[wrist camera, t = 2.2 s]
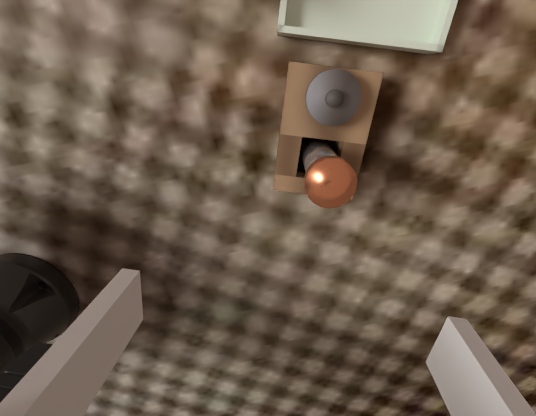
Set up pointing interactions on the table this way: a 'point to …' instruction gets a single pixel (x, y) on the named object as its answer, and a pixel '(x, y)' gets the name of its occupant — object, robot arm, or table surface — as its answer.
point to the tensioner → (324, 116)
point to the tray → (370, 22)
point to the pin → (327, 175)
